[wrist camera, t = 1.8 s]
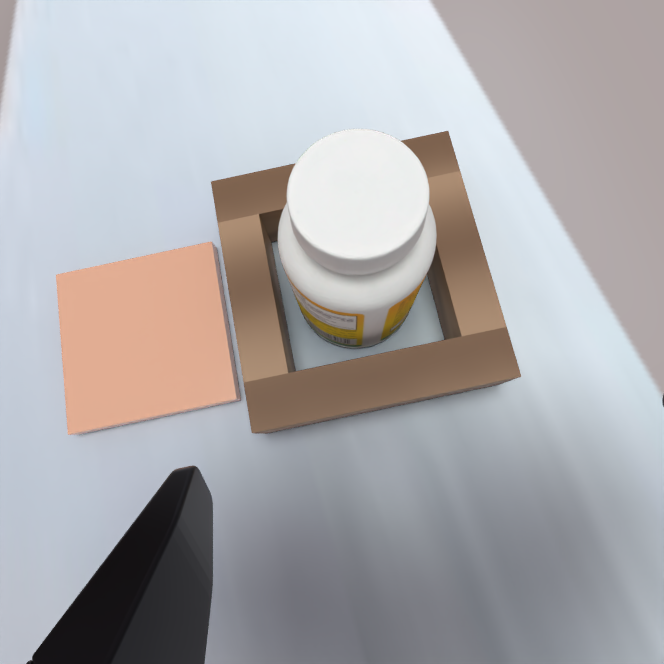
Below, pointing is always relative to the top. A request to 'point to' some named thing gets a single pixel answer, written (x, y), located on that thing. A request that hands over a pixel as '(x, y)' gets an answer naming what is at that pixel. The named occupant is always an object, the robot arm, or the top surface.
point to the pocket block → (376, 370)
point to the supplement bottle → (357, 235)
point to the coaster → (145, 339)
